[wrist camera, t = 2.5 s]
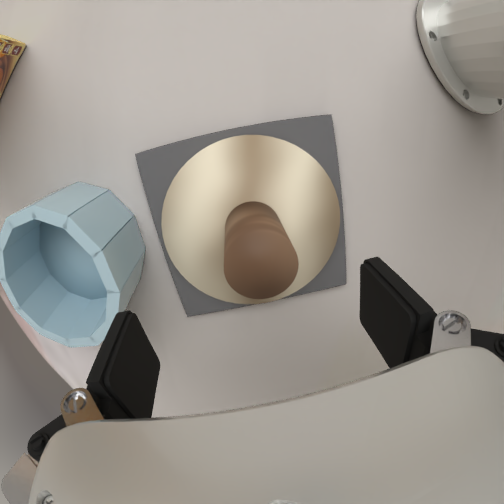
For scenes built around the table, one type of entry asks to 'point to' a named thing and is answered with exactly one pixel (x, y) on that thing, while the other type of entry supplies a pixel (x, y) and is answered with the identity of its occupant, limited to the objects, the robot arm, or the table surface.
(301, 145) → the rubber mat
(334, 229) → the brass cover
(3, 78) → the candy box
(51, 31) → the table surface
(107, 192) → the ceramic bowl
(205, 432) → the robot arm
